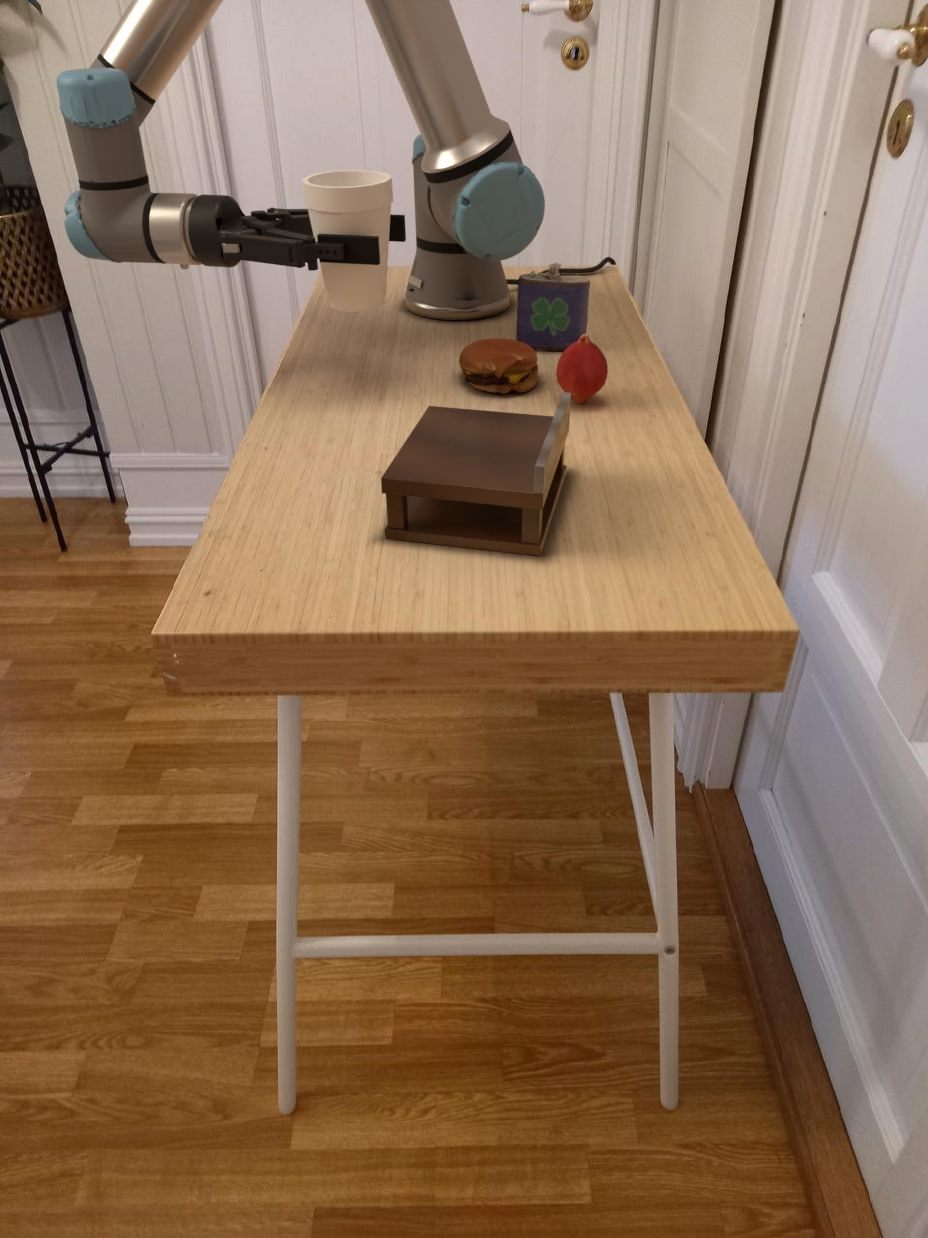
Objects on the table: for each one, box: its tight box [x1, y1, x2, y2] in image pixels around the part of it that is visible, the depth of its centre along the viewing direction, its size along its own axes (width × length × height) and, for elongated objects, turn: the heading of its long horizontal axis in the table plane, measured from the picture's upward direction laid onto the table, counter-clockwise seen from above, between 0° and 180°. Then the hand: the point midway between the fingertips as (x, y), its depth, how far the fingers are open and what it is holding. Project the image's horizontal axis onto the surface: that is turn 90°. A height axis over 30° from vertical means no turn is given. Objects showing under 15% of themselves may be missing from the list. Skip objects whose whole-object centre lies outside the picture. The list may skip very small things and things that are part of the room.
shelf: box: [380, 391, 572, 557], centre depth 86 cm, size 16×14×8 cm
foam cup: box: [301, 169, 394, 312], centre depth 102 cm, size 10×9×13 cm
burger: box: [458, 337, 539, 395], centre depth 112 cm, size 10×9×5 cm
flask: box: [515, 262, 591, 352], centre depth 120 cm, size 9×3×11 cm, turn 77°
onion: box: [555, 333, 609, 404], centre depth 105 cm, size 6×6×8 cm
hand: (391, 239), depth 101 cm, fingers closed on foam cup, 9 cm apart
